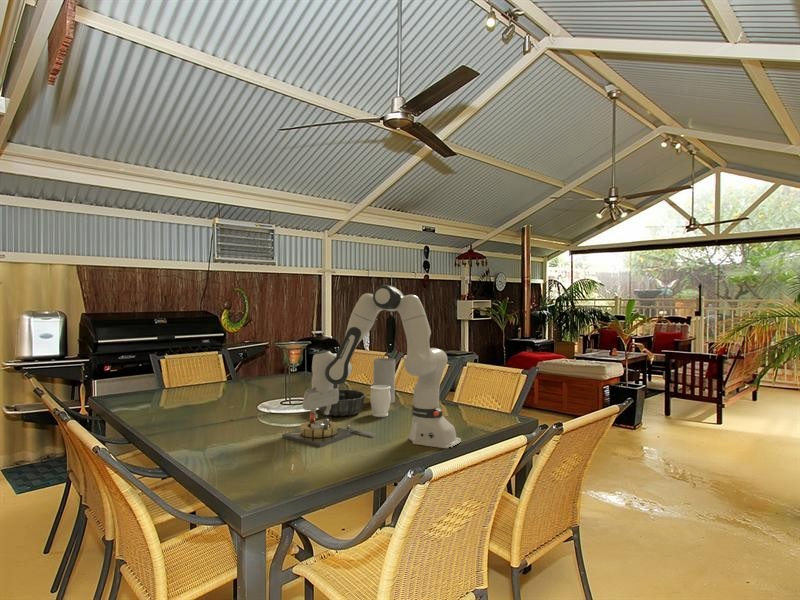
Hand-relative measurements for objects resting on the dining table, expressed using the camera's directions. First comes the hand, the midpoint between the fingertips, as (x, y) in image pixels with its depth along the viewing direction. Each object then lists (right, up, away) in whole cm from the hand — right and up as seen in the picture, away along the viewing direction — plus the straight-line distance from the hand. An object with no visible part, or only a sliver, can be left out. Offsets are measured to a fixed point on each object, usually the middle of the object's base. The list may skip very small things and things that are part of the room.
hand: (320, 416), depth 218 cm
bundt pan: (+5, -7, +33) cm, 34 cm away
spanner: (+19, -7, -6) cm, 21 cm away
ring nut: (+1, -5, -10) cm, 11 cm away
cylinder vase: (+27, -7, +59) cm, 65 cm away
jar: (+26, -7, +29) cm, 39 cm away
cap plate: (+1, -6, -10) cm, 12 cm away
